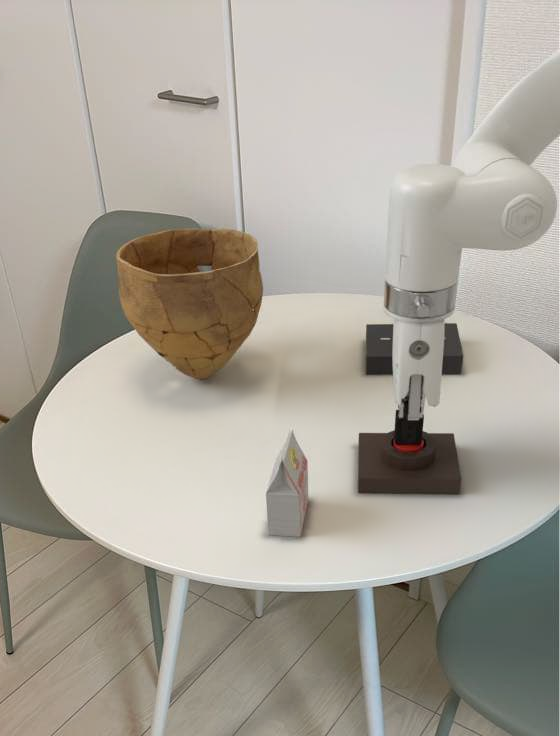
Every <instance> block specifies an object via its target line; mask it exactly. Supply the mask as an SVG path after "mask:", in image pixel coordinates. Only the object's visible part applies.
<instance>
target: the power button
mask: <svg viewBox="0 0 560 736" xmlns="http://www.w3.org/2000/svg"><path fill="white" fill-rule="evenodd" d="M423 446H424V441H423V439H422V443H421V444H420V445H396V444H395V442H394V445H393V447H394V448H395V449H396V450H399V451H402V452H417V451H420V450H422V449H423Z"/></svg>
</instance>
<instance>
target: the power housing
mask: <svg viewBox="0 0 560 736" xmlns="http://www.w3.org/2000/svg"><path fill="white" fill-rule="evenodd" d="M422 439H423V441H424V446H423V449H422V450H420V451H417V452H402V451H399V450H396V449H395V448H394V447H393V445H394V430H392V431H388V432H359V433H358V444H357V445H358V446H357V447H358V448H357V450H358V451H357V455H358V457H357V460H358V461H357V466H358V467H357V493H358V494H416V495H417V494H419V495H460V493H461V492H460V491H461V484H462V476H461V470H460V469H461V468H460V464H459V456H458V451H457V445H456V439H455V434H454V432H427V431H424V430H423V433H422Z"/></svg>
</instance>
